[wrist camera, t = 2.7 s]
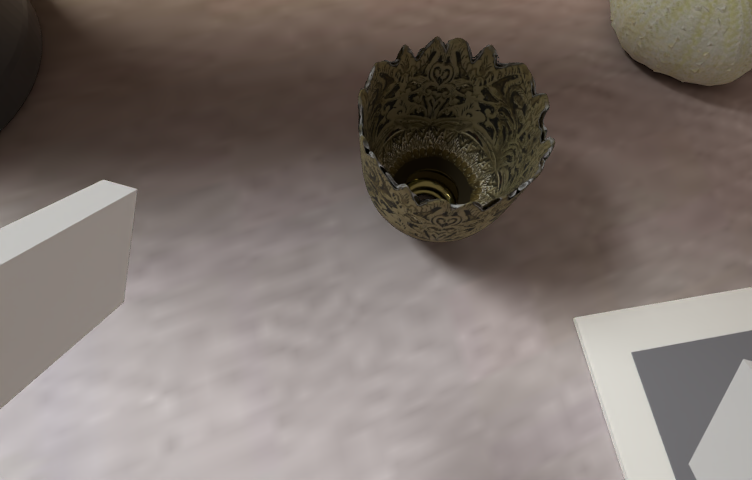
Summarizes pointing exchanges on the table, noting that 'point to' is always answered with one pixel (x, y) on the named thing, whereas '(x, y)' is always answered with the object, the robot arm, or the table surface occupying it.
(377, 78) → the cup
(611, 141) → the table surface
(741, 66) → the sea urchin shell
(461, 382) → the table surface
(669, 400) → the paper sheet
